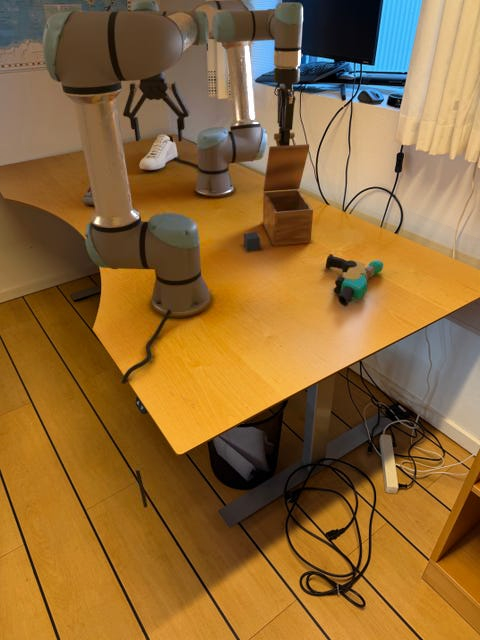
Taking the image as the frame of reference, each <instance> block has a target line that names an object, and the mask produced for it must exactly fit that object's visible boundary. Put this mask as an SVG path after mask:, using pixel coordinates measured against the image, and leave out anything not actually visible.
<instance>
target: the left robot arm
mask: <svg viewBox="0 0 480 640" xmlns="http://www.w3.org/2000/svg"><path fill="white" fill-rule="evenodd" d="M159 7H160V6H159V3H158V2H157V0H132V2H130V11H127V10H122V11H121V10H120V11H77V10H76V11H75V10H71V11H64V12H57V13H53V14H52V15H51V16H50V17H48V19H47V21H46V23H45V24H44V25H45V26H44V30H43V35H42V54H43V60H44V65H45V68H46V71H47V72H48V76H49V77H50V78H51V79H52V80H53V81H55V82H57V83H61V87H62V92H63V94H64V95H65V96H66V97H67V98H69V99H70V100H71V101H72V102H73V107H74V111H75V112H74V113H75V116H76V122H77V127H78V132H79V137H80V142H81V147H82V151H83V152H82V153H83V157H84V161H85V166H86V172H87V177H88V181H89V187H91V191H92V196H93V201H94V205H93V206H94V212H93V213H92V214H91V215H90V219H89V220H90V221H89V222H88V223H87V224H86V227H85V230H84V236H85V240H84V241H85V247H86V250H87V251H86V252H87V254H88V256H89V258H90V260H91V261H92V262H93V263H94V264H95V265H96V266H97V267H99V268H103V269H111V270H118V269H121V270H154V274H155V275H154V276H155V281H154V284H153V290H152V294H151V305H152V308H153V310H154V311H155V312H156V313H157V314H159V315H160V316H163V317H162V319H161V321H160V323H159V324H158V326H157V328H156V330H155V331H154V333H153V335H152V336H151V338H149V340H148V341H147V342H146V344H145V352H146V357H145V358H144V359H143V360H142V361H140V362H138V363H136V364H134V365H133V366H131V367H129V369H127V370H126V372H125V373H124V375H123V376H122V379H121V384H123V385H125V384H126V383H127V381H128V379H129V377H130V375H131V374H132V373H134V372H135V371H136V370H137V369H139V368H141V367H144V366H145V365H146V364H147V363H149V361H150V360H151V358H152V351H151V345H152V344H153V343H154V342H155V340H156V339H158V336H159V334H161V333H160V332H161V331H162V329H163V327H164V326H165V324H166V322H167V320H168V318H171V319H183V318H185V319H186V318H190V317H194V316H196V315H199V314H201V313H202V312H204V311H205V310H207V308H208V307H209V306H210V303H211V292H210V290H209V288H208V285H207V282H206V281H205V278H204V277H203V275H202V262H201V261H202V259H201V247H200V244H201V238H200V234H199V228H198V224H197V223H196V222H195V221H194V220H193V219H192V218H190V217H189V216H187V215H185V214H181V213H176V212H162V213H156V214H154V215H152V216H150V218H149V219H148V221H145V220H144V221H143V220H142V216H141V212H140V211H139V209H137V208H136V207H134V206H133V201H132V195H131V194H132V193H131V187H130V180H129V175H128V169H127V164H126V163H127V162H126V161H127V160H126V155H125V147H124V141H123V134H122V130H121V123H120V122H121V121H120V115H119V110H118V103H117V98H118V96H119V95H120V93H121V92H122V91H123V86H122V82H129V81H130V82H131V83H130V84H129V93H128V97H127V99H126V102H125V107H124V109H123V112H122V115H123V117H125V118H128V119H129V122H130V128H131V130H134V136H135V141H136V142H140V140H141V132H140V126H139V117H138V116H136V115H137V114H138V113H139V111H140V109H141V108H142V106H143V105H144V103H145V101H146V100H147V99H148V100H149V101H153V100H156V101H160V100H162V101H163V102H164V103H166V105H167V106H168V107H169V108H170V109H171V111H172V112H173V113H174V114H175V115H176V116H177V119H176V126H177V137H178V138H177V139H178V142H180V143H181V142H182V141H183V140H184V139H183V131H184V130H185V128H186V124H185V118H188V117H189V116H190V114H191V112H190V110H189V108H188V107H187V104H186V103H185V101H184V99H183V97H182V95H181V93H180V91H179V89H178V88H179V87H178V83H177V82H176V81H173V82H172V83H171V82H170V83H168V82H167V79H166V78H167V77H166V71H167V70H169V69H171V68H172V67H174V66H175V65H177V63H178V62H179V61H180V60H181V57H182V55H183V53H184V51H185V50H187V49H188V48H189V47H190V46H198V47H199V46H201V45H202V46H203V45H207V44H208V42H209V39H208V38H209V24H208V16H207V14H206V13H205V12H204V11H196V10H193V9H192V10H193V11H192V10H170V11H169V10H160V8H159ZM132 81H133V82H132ZM134 81H139V83H136V82H134ZM168 89H169V91H170V92H172V94H173V97H174V98H175V100H176V102H177V104H176V103H175V102H174V101H173V99H172V98H171V97H170V96H169V94H168V93H167V91H168ZM138 90H140V92H142V94H141V96H140V97H139V100H138V101H137V103H136V105H134V107H133V109H132V110H131V108H132V105H133V103H134V99H135V96H136V93H137V92H138ZM178 106H179V107H180V108H179V107H178ZM134 471H135V474H136V478H137V483H138V486H139V492H140V495H141V499H142V504H143V508H145V509H146V508H147V507H148V502H147V496H146V492H145V487H144V483H143V479H142V475H141V471H140V470H139V469H138V470H136V469H135V470H134Z"/></svg>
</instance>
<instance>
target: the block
mask: <svg viewBox="0 0 480 640" xmlns="http://www.w3.org/2000/svg"><path fill="white" fill-rule="evenodd" d="M243 247H244V249H245V250H246V252H254V251H259V250H260V251H261V237H260V235H259V234H258V232H257V231H254V232H246V233H243Z"/></svg>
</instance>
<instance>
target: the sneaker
mask: <svg viewBox="0 0 480 640" xmlns="http://www.w3.org/2000/svg"><path fill="white" fill-rule="evenodd" d="M178 156H179V155H178V149H177V144H176V140H175V136H174V135H173V134H164V133H161V134H158V135H157V137H156V139H155V140H154V142H153V143H152V146H151V148H150V150H149V151H148V153H147V154H146V155H145V156H144V157H143V158H142V159H141V160H140V162H139V169H141V170H144V171H156V170H160V169H162V168H164V167H165V166H166V164H167V163H168V162H170V161H172V160H175V159H174V158H175V157H176V158H178Z"/></svg>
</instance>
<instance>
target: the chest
mask: <svg viewBox="0 0 480 640" xmlns="http://www.w3.org/2000/svg"><path fill="white" fill-rule="evenodd" d="M262 193H263V196H262V197H263V198H262V224H263V226H264V228H265V230H266V232H267V235H268V237H269V239H270V241H271V243H272V245H273V246H274V247H275V246H285V245H286V246H287V245H299V244H308V243H309V244H311V241H312V240H311V239H312V231H313V227H312V226H313V219H314V209H313V208H312V206H311V205H310V203H309V202H308V201H307V199H306V198H305V197H304V195H303V194H302V192H301V191H300V189H293V190H279V191H265V192H264V191H262Z"/></svg>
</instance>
